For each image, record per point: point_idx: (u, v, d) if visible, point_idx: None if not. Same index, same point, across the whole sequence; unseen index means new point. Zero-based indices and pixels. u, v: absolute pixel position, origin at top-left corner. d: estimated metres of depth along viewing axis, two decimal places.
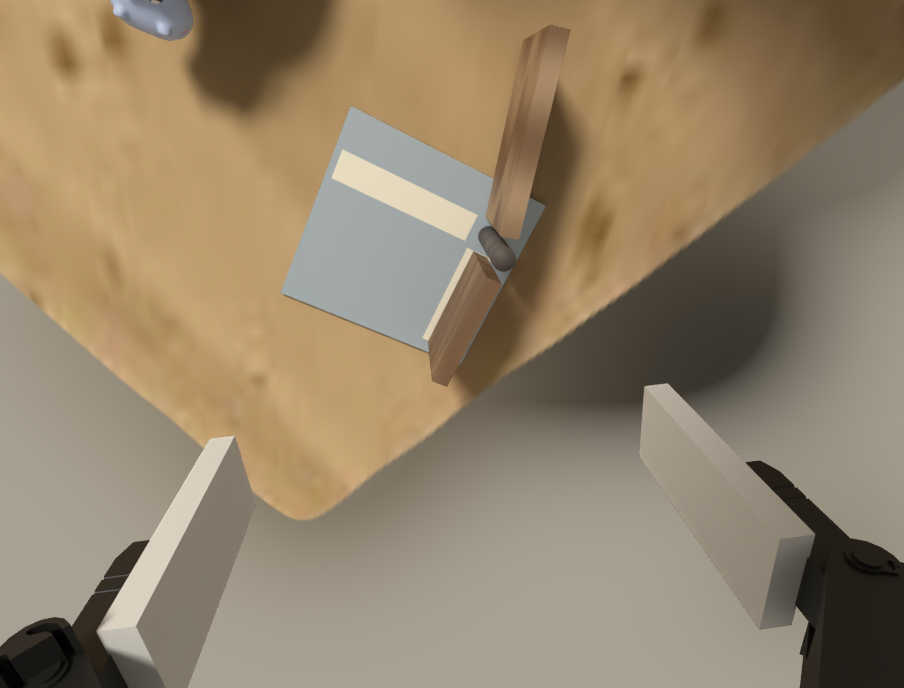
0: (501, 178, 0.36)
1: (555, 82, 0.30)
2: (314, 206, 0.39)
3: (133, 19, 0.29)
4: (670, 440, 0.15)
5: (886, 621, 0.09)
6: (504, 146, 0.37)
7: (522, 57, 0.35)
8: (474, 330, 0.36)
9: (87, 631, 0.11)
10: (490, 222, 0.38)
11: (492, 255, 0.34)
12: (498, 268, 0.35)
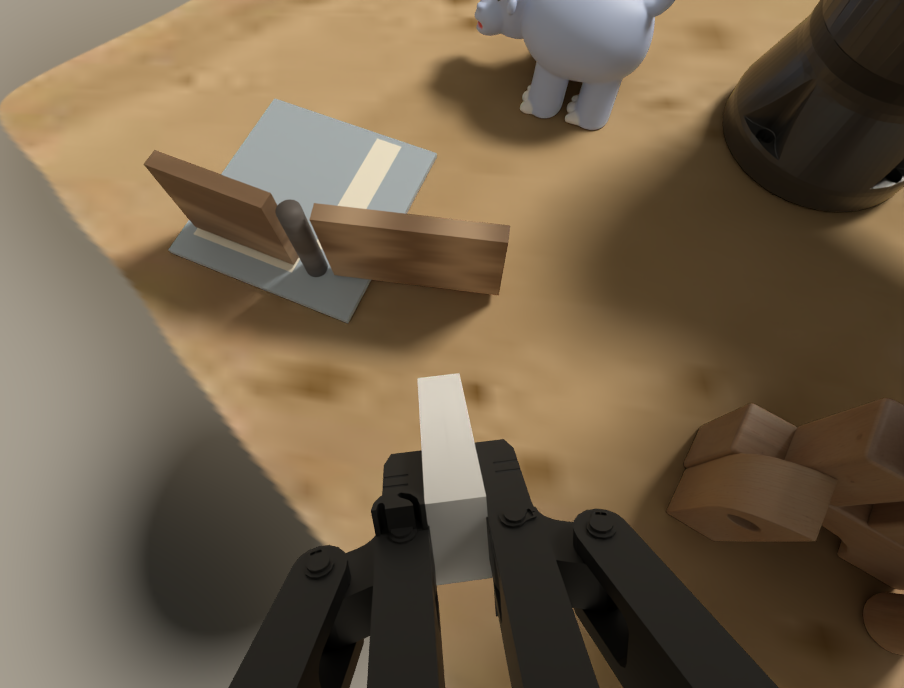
0: None
1: (463, 236, 0.31)
2: (352, 125, 0.43)
3: None
4: None
5: (540, 562, 0.11)
6: None
7: None
8: (209, 185, 0.32)
9: None
10: None
11: None
12: (279, 205, 0.32)
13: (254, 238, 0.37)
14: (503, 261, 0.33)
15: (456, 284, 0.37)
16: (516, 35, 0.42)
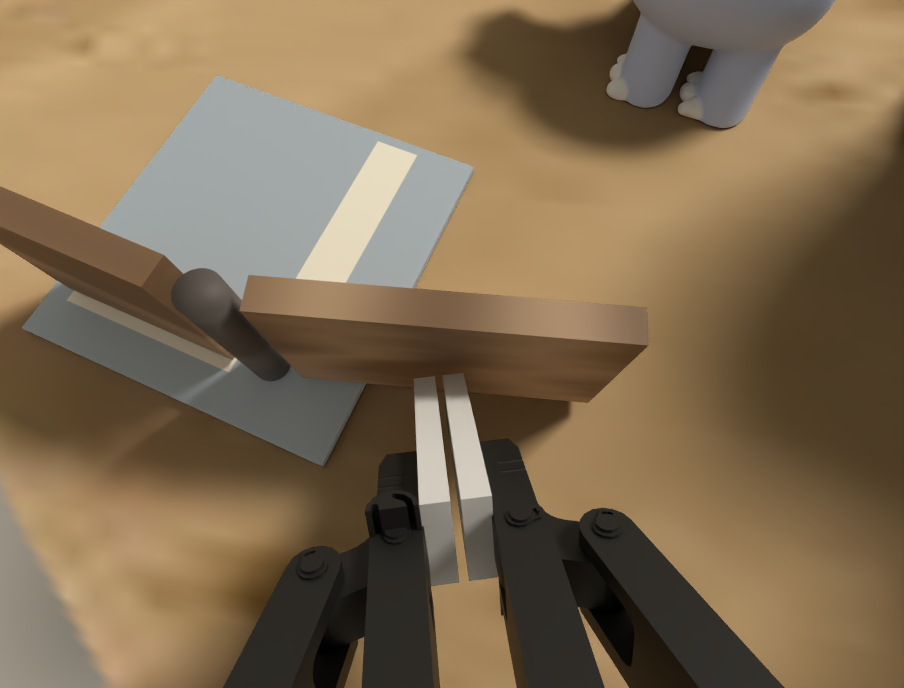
0: None
1: (555, 333, 0.15)
2: (339, 120, 0.27)
3: None
4: (448, 422, 0.17)
5: (546, 561, 0.11)
6: None
7: None
8: (42, 238, 0.16)
9: None
10: None
11: None
12: (180, 281, 0.16)
13: (157, 319, 0.21)
14: (621, 367, 0.17)
15: (517, 390, 0.21)
16: None
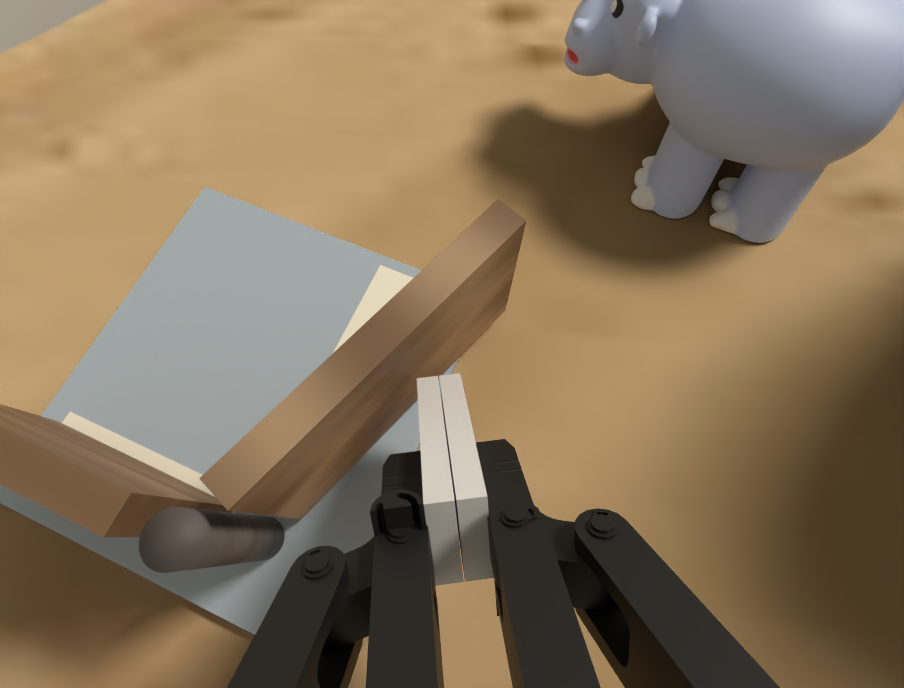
0: None
1: (466, 273, 0.16)
2: (337, 240, 0.25)
3: (586, 3, 0.24)
4: None
5: (541, 562, 0.11)
6: None
7: None
8: None
9: None
10: None
11: (188, 508, 0.14)
12: (150, 525, 0.14)
13: None
14: (516, 257, 0.19)
15: (458, 351, 0.22)
16: (638, 78, 0.23)
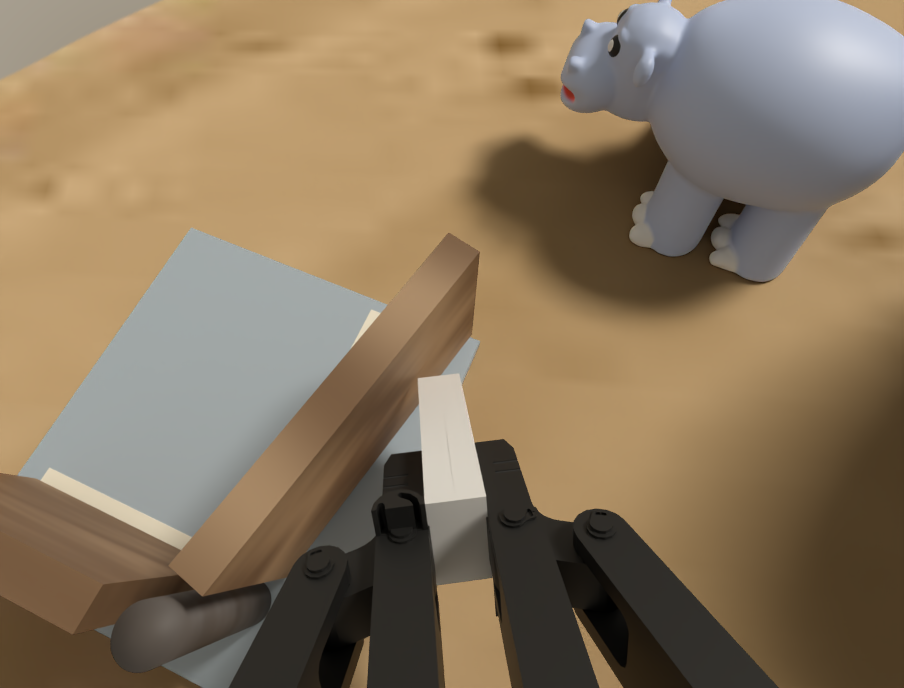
0: None
1: (425, 313, 0.16)
2: (327, 283, 0.24)
3: (582, 39, 0.23)
4: None
5: (540, 562, 0.11)
6: None
7: None
8: None
9: None
10: None
11: (164, 599, 0.13)
12: (122, 619, 0.13)
13: None
14: (474, 285, 0.18)
15: None
16: (636, 116, 0.23)
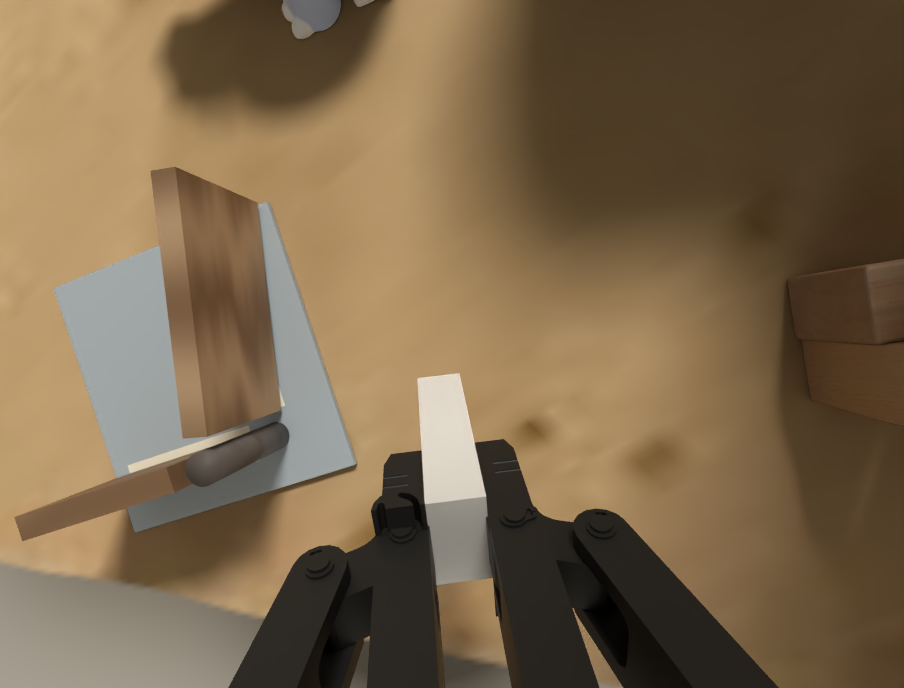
0: None
1: (180, 228, 0.23)
2: (156, 248, 0.31)
3: None
4: None
5: (540, 562, 0.11)
6: None
7: None
8: (103, 511, 0.24)
9: None
10: None
11: (197, 452, 0.24)
12: (188, 472, 0.24)
13: None
14: (206, 182, 0.25)
15: (255, 253, 0.29)
16: None
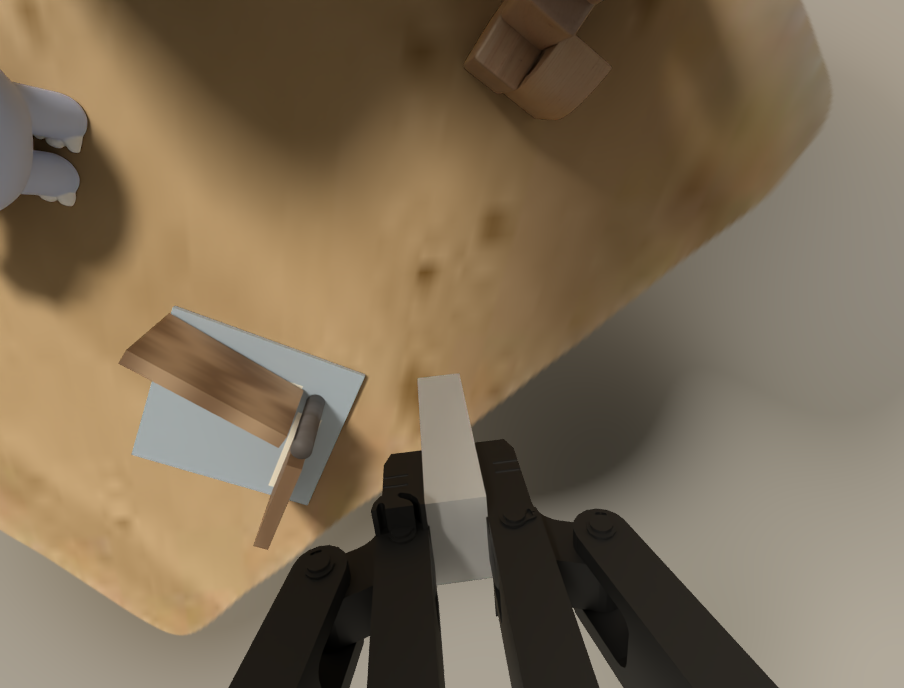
0: None
1: (164, 372, 0.35)
2: (151, 385, 0.43)
3: None
4: None
5: (540, 562, 0.11)
6: None
7: None
8: (284, 506, 0.41)
9: None
10: None
11: (291, 446, 0.39)
12: (297, 457, 0.39)
13: None
14: (142, 337, 0.36)
15: (201, 338, 0.41)
16: None
